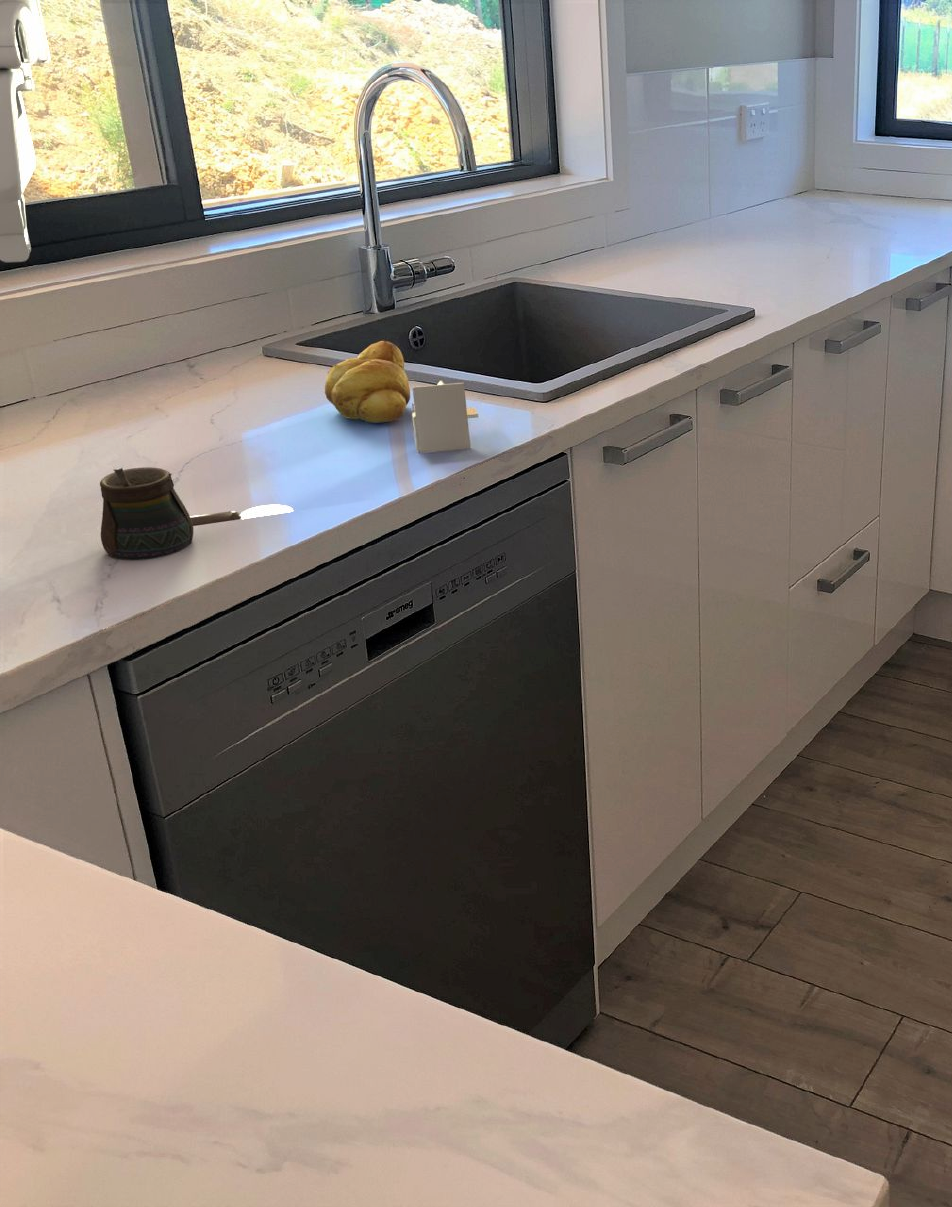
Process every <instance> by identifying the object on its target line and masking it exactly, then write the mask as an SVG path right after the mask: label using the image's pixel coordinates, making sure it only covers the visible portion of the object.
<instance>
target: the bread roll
mask: <svg viewBox="0 0 952 1207" xmlns="http://www.w3.org/2000/svg"><path fill="white" fill-rule="evenodd" d="M324 395H325V396H326V397H325V398H326V399H327V400H328V402H330V403H331V404H332V405H333V406H334V408H335V409H336V410H337V412H338V413H340V415H341V416H342V417H344V418H347V419H352V420H358V421H359V420H362V421H365V422H367V423H372V424H373V423H376V424H379V423H389V422H394V421H397V420H398V419H400V418H402V416H403V415H404V414H405V411H406V408H407V406H408V404H409V402H410V401H411V389H410V382H409V378H408V376H407V372H406V371H405V359H404V356H403V354H402V351H401V349H399V347H398V346H397V345H396V344H394V343H392V342H390V341H389V340H387V341H386V340H380V341H378V342H375V343H372V344H370V345H369V346H368V347H366V348H365V349H364V350H363V351H362V352H360V353H359V354H358V356H357V357H352V358H347V359H346V360H344V361H341V362H339V363H337V364H335V365H333V366H332V367H331V368H330V369H329V371H327V376H326V379H325V384H324Z"/></svg>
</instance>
